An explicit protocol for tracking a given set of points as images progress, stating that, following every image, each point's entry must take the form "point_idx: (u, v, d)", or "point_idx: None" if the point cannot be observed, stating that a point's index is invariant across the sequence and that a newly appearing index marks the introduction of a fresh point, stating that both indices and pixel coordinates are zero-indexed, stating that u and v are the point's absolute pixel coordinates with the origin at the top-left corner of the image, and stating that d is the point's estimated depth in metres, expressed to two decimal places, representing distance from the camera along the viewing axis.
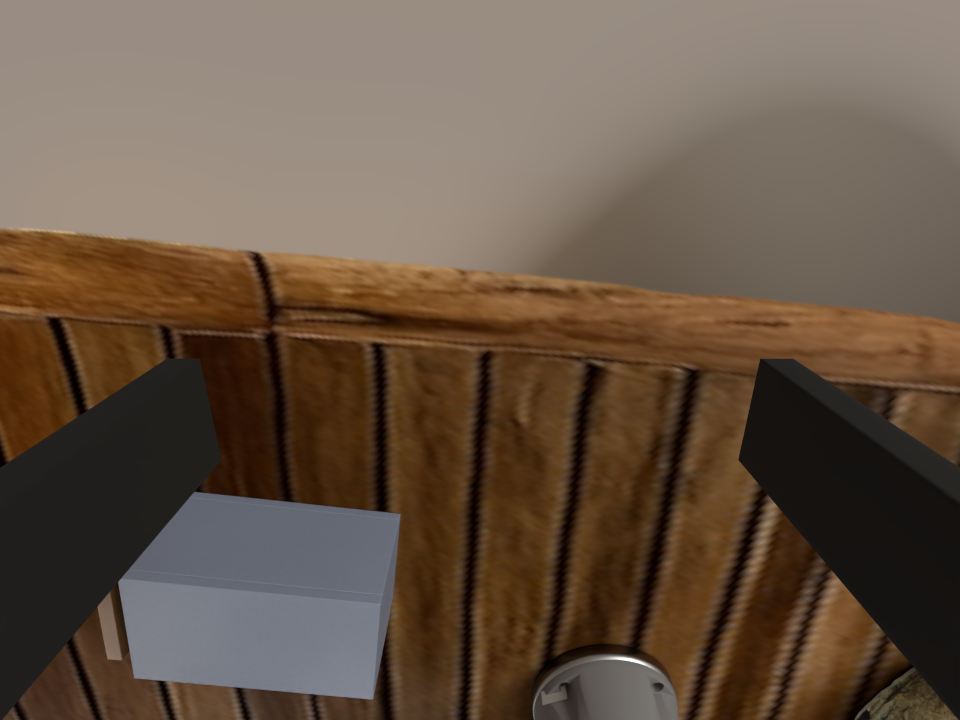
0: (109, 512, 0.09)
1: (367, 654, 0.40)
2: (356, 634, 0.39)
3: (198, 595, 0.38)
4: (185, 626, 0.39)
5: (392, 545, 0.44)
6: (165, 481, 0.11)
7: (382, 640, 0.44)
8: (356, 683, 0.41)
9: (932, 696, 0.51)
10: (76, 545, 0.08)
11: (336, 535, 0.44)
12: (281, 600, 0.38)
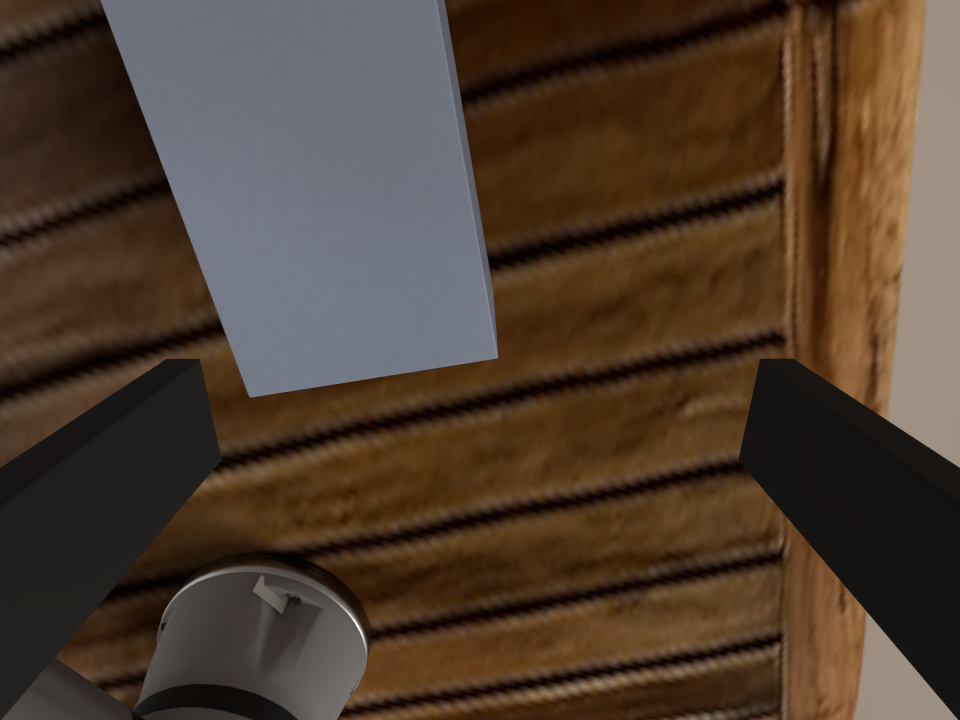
0: (109, 512, 0.09)
1: (364, 363, 0.21)
2: (409, 333, 0.20)
3: None
4: None
5: (494, 312, 0.26)
6: (165, 481, 0.11)
7: None
8: (279, 360, 0.21)
9: None
10: (76, 545, 0.08)
11: (478, 212, 0.25)
12: (449, 169, 0.18)
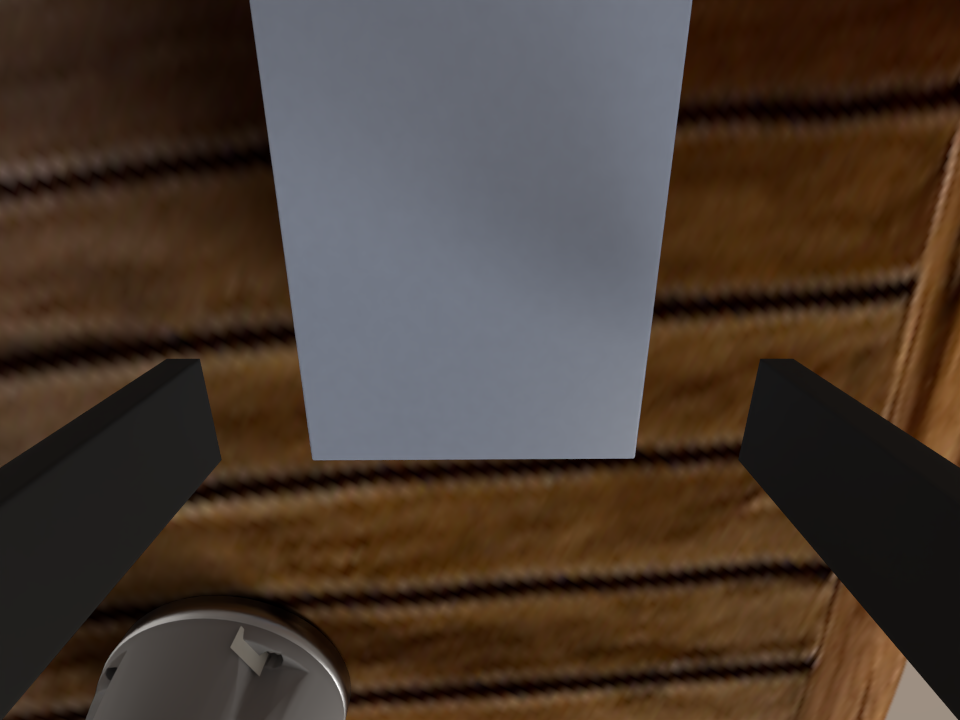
0: (109, 513, 0.09)
1: (470, 441, 0.16)
2: (536, 414, 0.16)
3: None
4: None
5: None
6: (165, 481, 0.11)
7: None
8: (363, 421, 0.16)
9: None
10: (76, 545, 0.08)
11: None
12: (643, 228, 0.14)
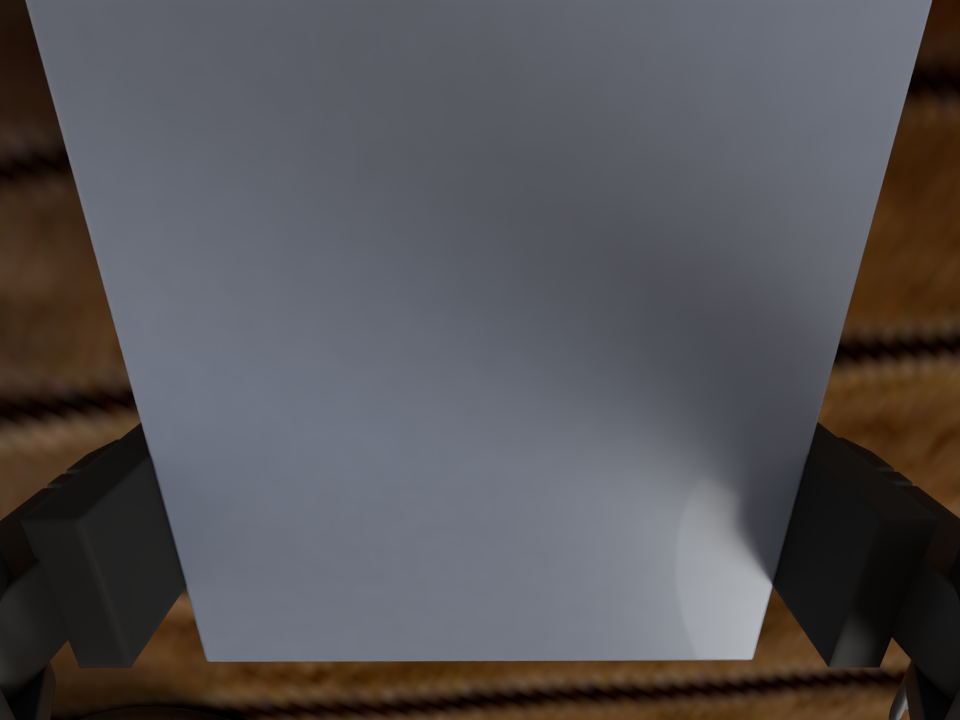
0: None
1: (474, 635, 0.09)
2: (588, 597, 0.09)
3: None
4: None
5: None
6: None
7: None
8: (287, 607, 0.09)
9: None
10: None
11: None
12: (816, 285, 0.07)
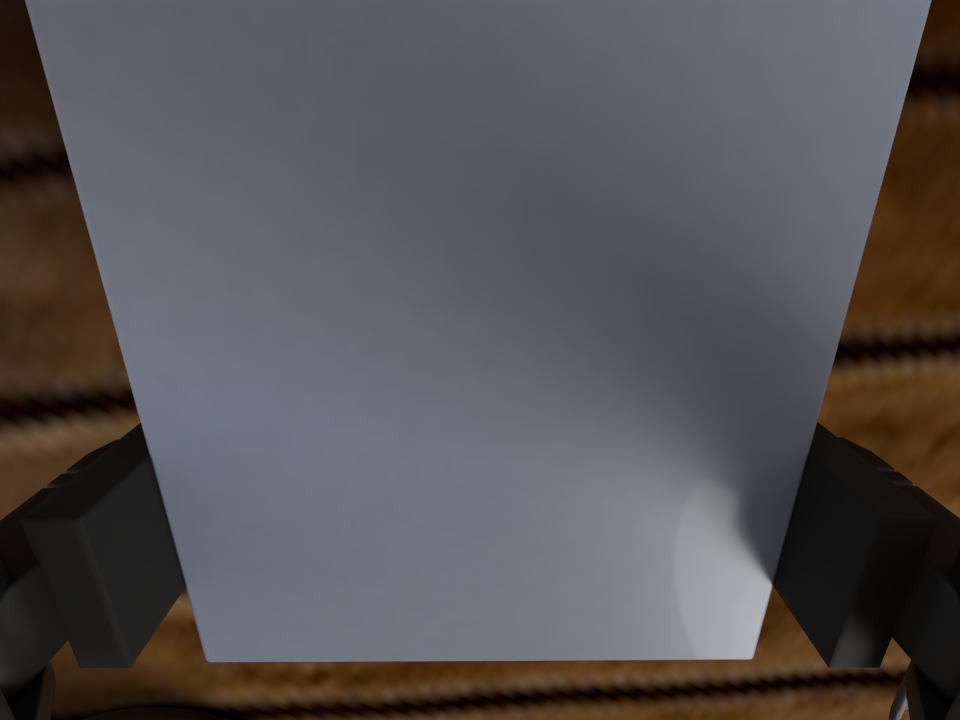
0: None
1: (474, 635, 0.09)
2: (589, 596, 0.09)
3: None
4: None
5: None
6: None
7: None
8: (287, 607, 0.09)
9: None
10: None
11: None
12: (816, 285, 0.07)
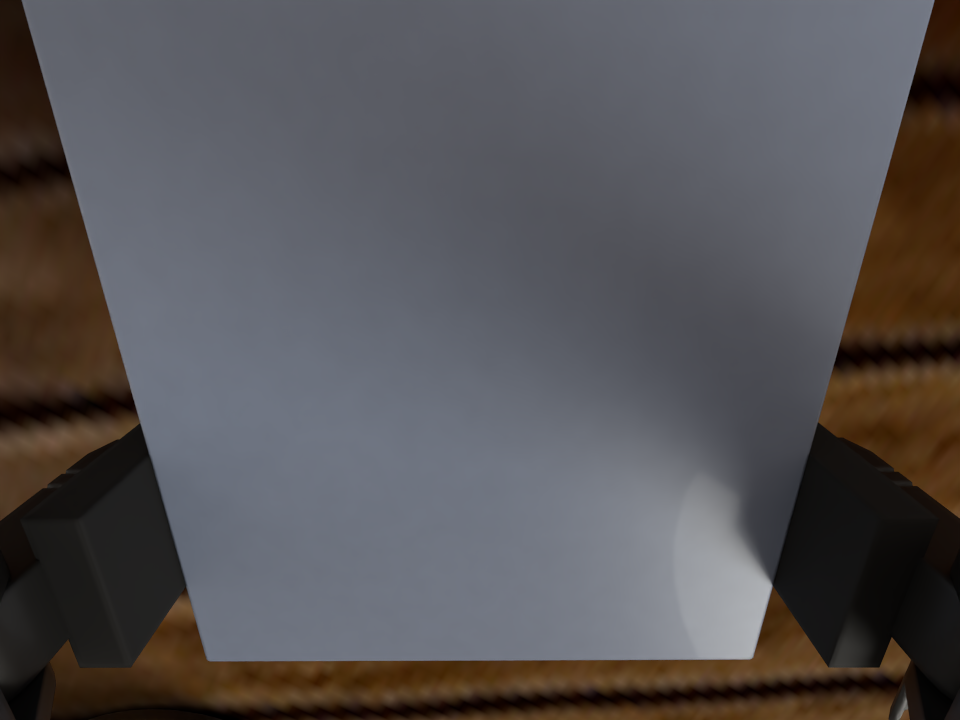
0: None
1: (474, 635, 0.09)
2: (588, 597, 0.09)
3: None
4: None
5: None
6: None
7: None
8: (288, 607, 0.09)
9: None
10: None
11: None
12: (817, 285, 0.07)
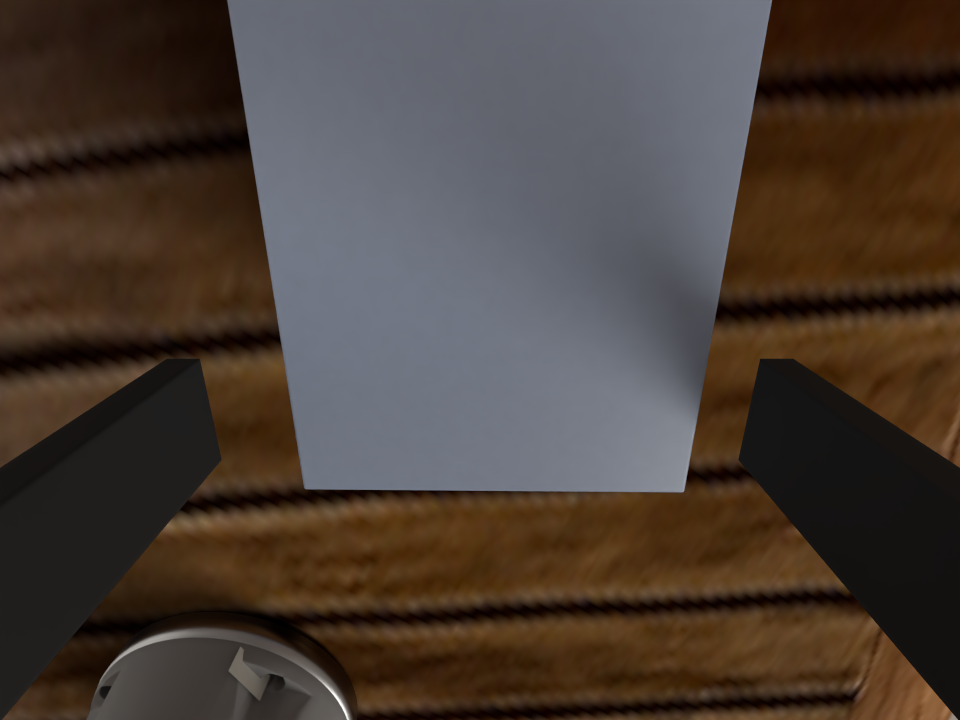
0: (108, 512, 0.09)
1: (489, 470, 0.14)
2: (568, 440, 0.13)
3: None
4: None
5: None
6: (165, 481, 0.11)
7: None
8: (362, 446, 0.14)
9: None
10: (76, 545, 0.08)
11: None
12: (708, 217, 0.11)
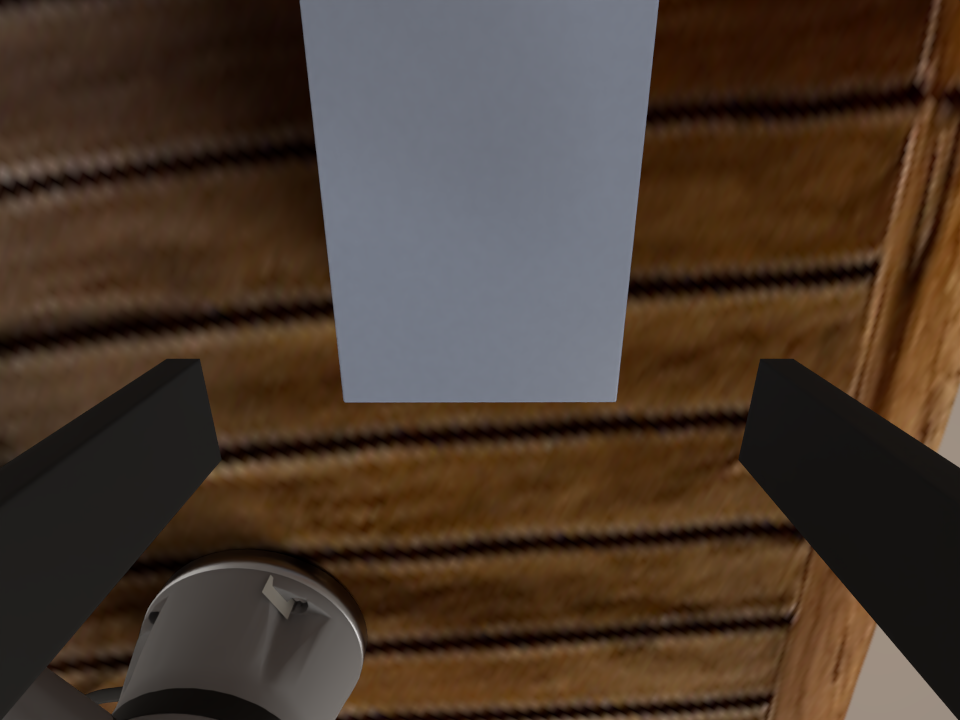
0: (108, 513, 0.09)
1: (477, 386, 0.19)
2: (532, 362, 0.19)
3: None
4: None
5: None
6: (165, 481, 0.11)
7: None
8: (387, 368, 0.19)
9: None
10: (76, 545, 0.08)
11: None
12: (620, 203, 0.17)
